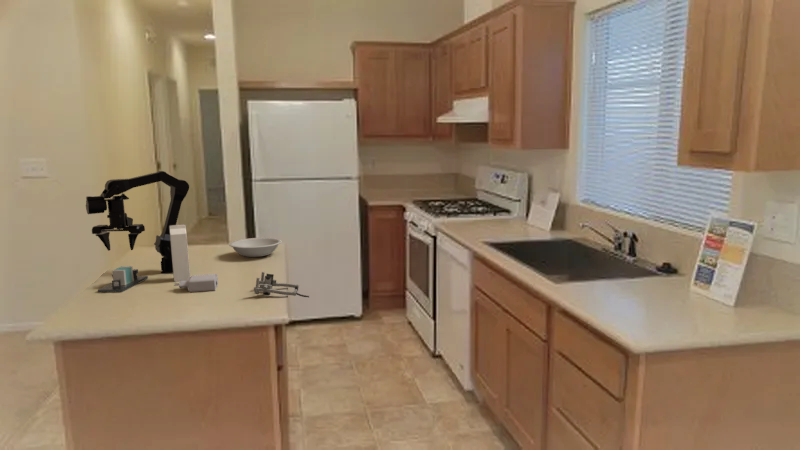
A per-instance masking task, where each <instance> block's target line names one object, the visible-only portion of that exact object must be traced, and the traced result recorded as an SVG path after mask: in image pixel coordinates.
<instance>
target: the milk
mask: <svg viewBox="0 0 800 450" xmlns="http://www.w3.org/2000/svg"><path fill="white" fill-rule="evenodd" d="M186 227H187V226H186V224H176V225H171V226H170V241H171V252H172V264H173V273H172V274H173V282H175V283H176V282H177V283H178V282H180V281H185V280H188V279H189V278H190V277H191V270H190V259H189V247H188V235H187V228H186Z"/></svg>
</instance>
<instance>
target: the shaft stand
mask: <svg viewBox="0 0 800 450" xmlns="http://www.w3.org/2000/svg"><path fill="white" fill-rule="evenodd" d="M138 274H139V268H133V278H134V280H132V281H131V282H129V283H127V284H121V280H119V278H116V279H114V280H113V279H112V280H111V283H109V284H106V285H105V286H103V287H101V288H98V289H97V293H123V292H125V291H127V290H129V289H131V288H132V287H134V286H136V285H138V284H140V283H142V282H144V281H145V280H147V279H148V278H149V276H148V275H138Z"/></svg>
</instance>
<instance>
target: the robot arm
mask: <svg viewBox="0 0 800 450" xmlns="http://www.w3.org/2000/svg"><path fill="white" fill-rule="evenodd" d="M159 182H162V183H163V184H165V185H166V186H168V187H170V189H169V193H170V194H169V195H170V202H169V206H168V209H167V214H166V217H165V221H164V225H163V229H162V232H161V234H160V235H157V234H156V236H155V241H154V243H153V245H154V246H155V247H154V248H155V250H156V252H157V253H159V254H160V256H161V261H160V268H161V269H160V273H161V274H173V264H172V252H171V241H170V226H171V225H177V222H178V218H179V214H180V211H181V207H182V202H183V201H184V200H185V198H186V197H187V195H188V193H189V190H190V184H189V182H188V181H186V180H183V179H178V178H176V177H175V176H172V175H171V174H169V173H167V172H166V171H163V170H158V171H155V172H153V173H152V172H151V173H148V174H144V175H143V174H142V175H140V176H139V175H138V176H135V177H131V178H130V177H129V178H116V179H115V178H114V179H113V178H112V179H108V180H107V181H106V182H105V184H104V190H103V191H102V192H101V194H100V195H98V196H97V195H96V196H89V195H88V196H86V197H85V199H86V200H85V210H86V213H87V215H95V214H103V213H105V212H106V211H107V210H108V214H107V219H108V220H109V225H108V224H98V225H94V226H93V227H92V228H91V234H92V235H95V236H96V237H98V238H99V240H100V241H101V242H102V244H103V245H104V247H105V248H106V250H107V251H111V241H110V233H111V232H128V234H127V235H128V236H127V237H128V242H129V247H130V250H131V251H133V250H134V249H135V245H136V241H137V237H138V236H139V234H142V232H145V231H146V228H145V227H146V226H145V225H144V224H143V223H133V222H134V219H133V218H132V217H130V216H128V214H127V213H126V212H125V204H124V203H125V202H124V201H126V200H130V198H129V196H127V195H126V194H125V193H126V192H128V191H130V190H132V189H134V188H138V187H142V186H146V185H150V184H153V183H155V184H156V183H159Z"/></svg>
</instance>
